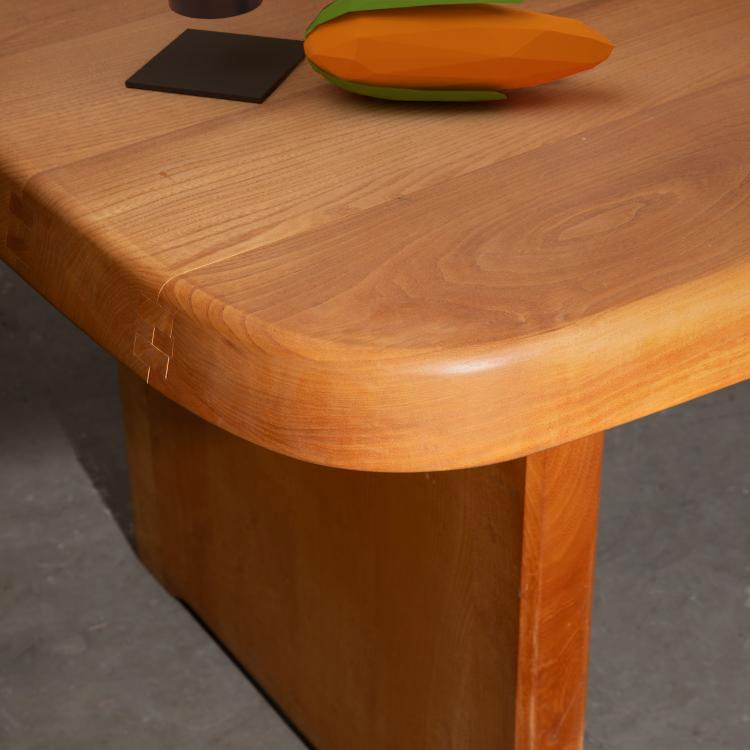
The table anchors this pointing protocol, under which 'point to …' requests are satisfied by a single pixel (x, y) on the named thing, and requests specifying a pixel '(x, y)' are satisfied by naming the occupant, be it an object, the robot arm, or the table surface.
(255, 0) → the tin
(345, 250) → the table surface
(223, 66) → the coaster
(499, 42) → the corn
